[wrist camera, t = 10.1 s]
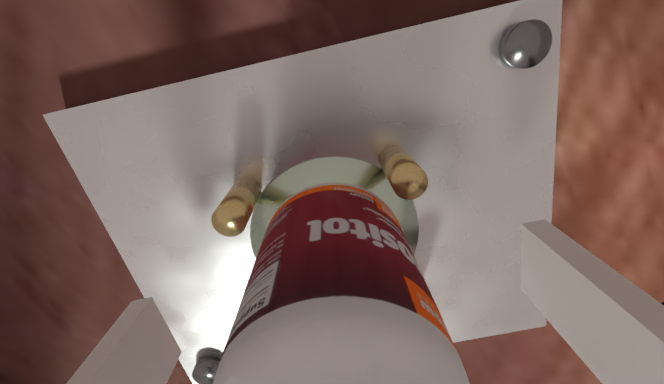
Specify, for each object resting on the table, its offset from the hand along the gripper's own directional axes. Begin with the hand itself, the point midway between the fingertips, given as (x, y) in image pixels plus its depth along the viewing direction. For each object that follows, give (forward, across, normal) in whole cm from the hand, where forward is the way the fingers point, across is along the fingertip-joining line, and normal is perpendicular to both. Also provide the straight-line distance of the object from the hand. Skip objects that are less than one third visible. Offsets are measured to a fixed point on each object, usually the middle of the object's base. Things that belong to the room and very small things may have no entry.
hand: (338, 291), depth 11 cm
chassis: (+5, 0, 0) cm, 5 cm away
